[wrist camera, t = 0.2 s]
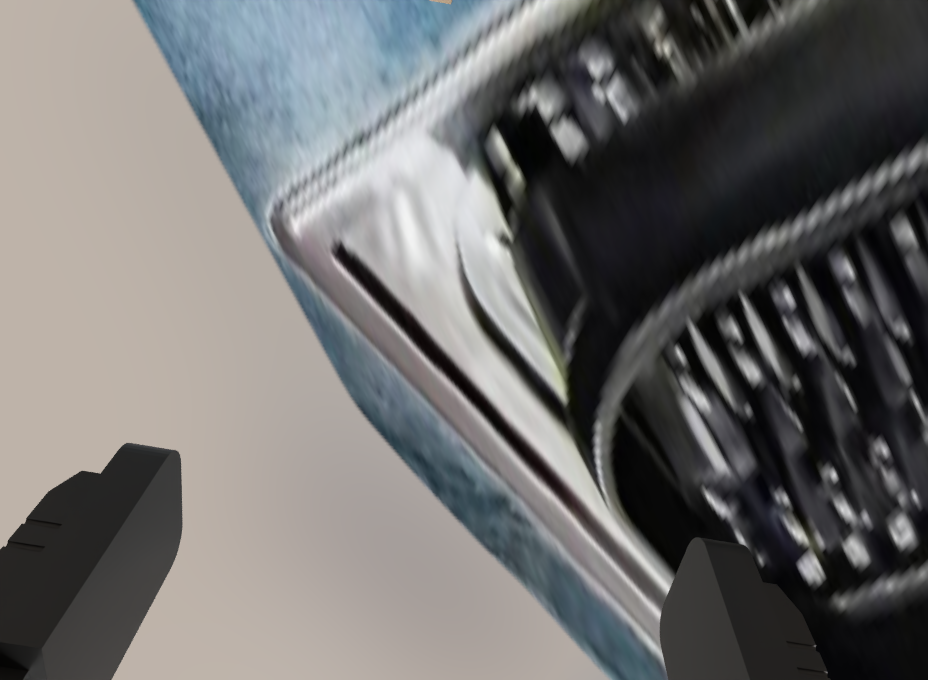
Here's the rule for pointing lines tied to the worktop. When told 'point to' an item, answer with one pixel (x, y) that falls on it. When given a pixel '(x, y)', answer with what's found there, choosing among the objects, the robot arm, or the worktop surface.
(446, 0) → the socket plate
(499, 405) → the worktop surface
